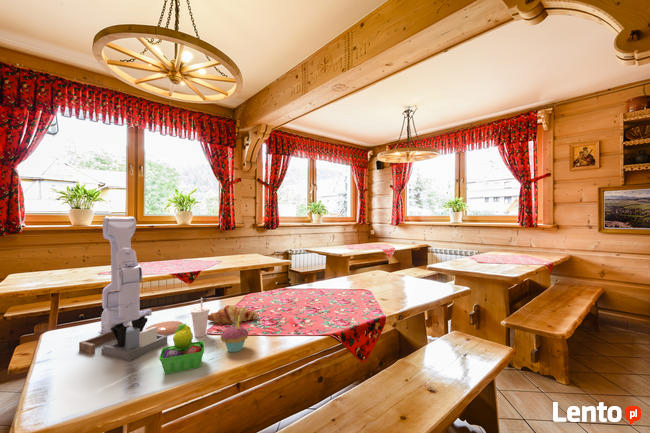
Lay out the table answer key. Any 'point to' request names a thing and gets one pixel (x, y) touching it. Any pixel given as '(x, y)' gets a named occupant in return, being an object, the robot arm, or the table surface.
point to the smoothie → (200, 320)
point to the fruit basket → (182, 352)
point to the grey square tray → (146, 344)
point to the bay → (96, 342)
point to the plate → (166, 327)
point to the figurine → (235, 323)
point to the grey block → (131, 338)
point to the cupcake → (234, 337)
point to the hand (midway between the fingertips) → (129, 343)
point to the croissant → (231, 315)
